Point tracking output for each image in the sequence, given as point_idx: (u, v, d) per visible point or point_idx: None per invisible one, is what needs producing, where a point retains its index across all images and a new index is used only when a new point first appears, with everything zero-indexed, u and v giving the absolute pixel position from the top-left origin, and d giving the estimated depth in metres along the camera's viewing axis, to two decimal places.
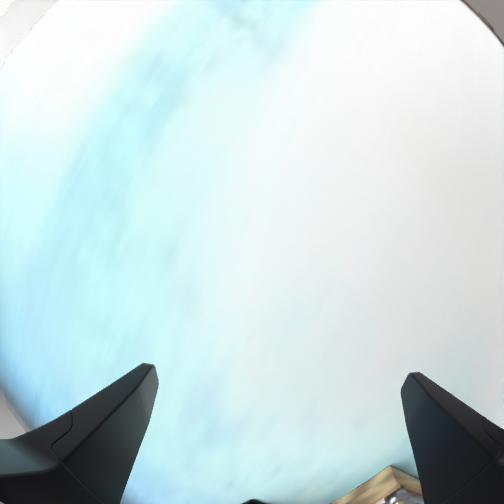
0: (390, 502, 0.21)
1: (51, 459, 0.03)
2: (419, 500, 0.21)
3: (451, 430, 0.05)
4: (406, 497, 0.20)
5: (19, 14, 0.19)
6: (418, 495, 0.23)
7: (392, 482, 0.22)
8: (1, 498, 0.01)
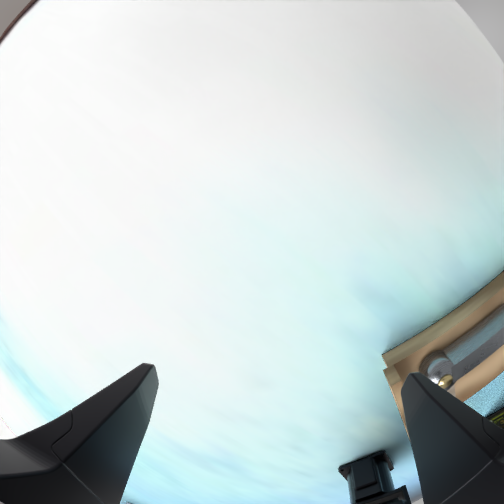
0: None
1: (51, 459, 0.03)
2: (488, 332, 0.17)
3: (451, 430, 0.05)
4: (441, 370, 0.17)
5: None
6: (486, 321, 0.18)
7: (389, 383, 0.19)
8: (1, 498, 0.01)
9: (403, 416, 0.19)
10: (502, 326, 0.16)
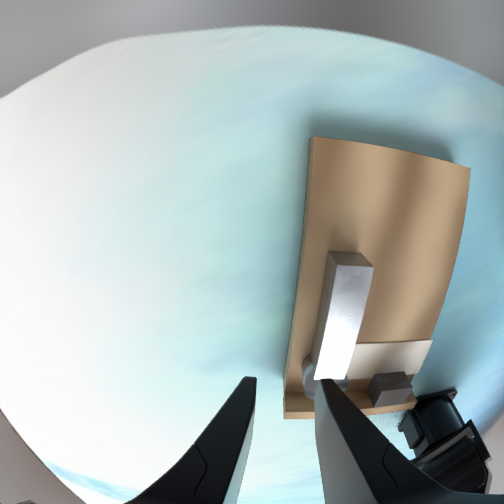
0: None
1: None
2: (324, 316, 0.16)
3: (344, 452, 0.05)
4: (306, 388, 0.18)
5: None
6: (323, 295, 0.18)
7: None
8: None
9: None
10: (330, 301, 0.15)
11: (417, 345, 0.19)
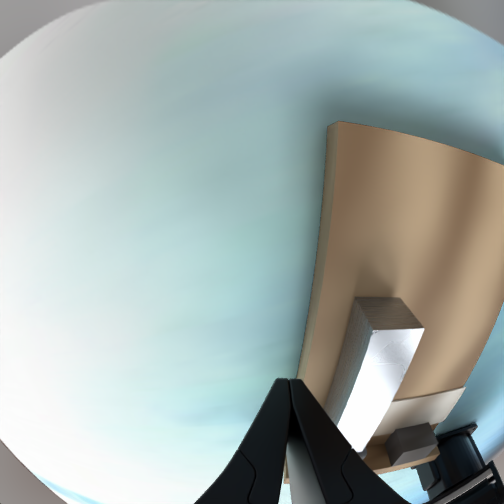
0: None
1: None
2: (345, 389, 0.10)
3: (304, 455, 0.05)
4: None
5: None
6: (343, 356, 0.12)
7: None
8: None
9: None
10: (356, 376, 0.09)
11: (448, 394, 0.13)
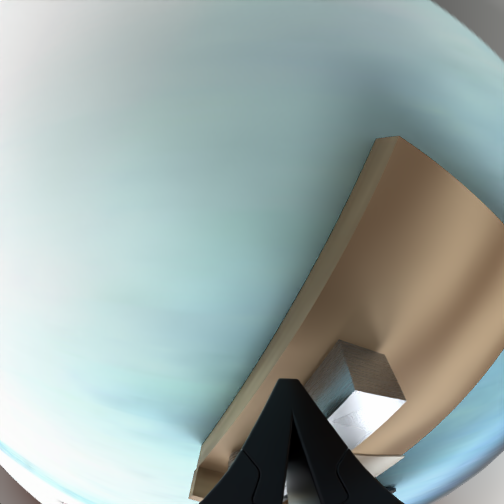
0: None
1: None
2: None
3: (299, 455, 0.05)
4: None
5: None
6: None
7: None
8: None
9: None
10: None
11: (384, 459, 0.13)
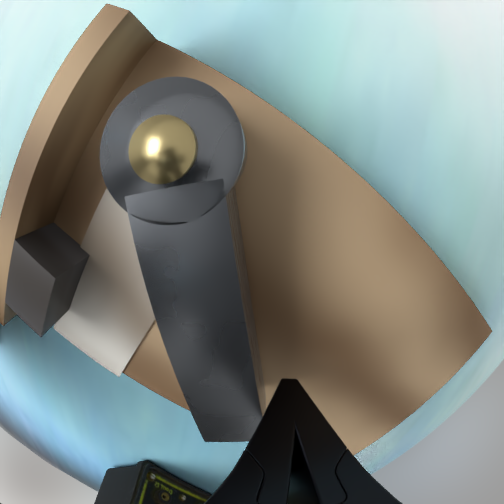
0: None
1: None
2: (253, 352, 0.08)
3: (298, 455, 0.05)
4: (233, 130, 0.05)
5: None
6: (256, 344, 0.09)
7: None
8: None
9: (22, 150, 0.06)
10: (260, 399, 0.07)
11: (120, 351, 0.10)
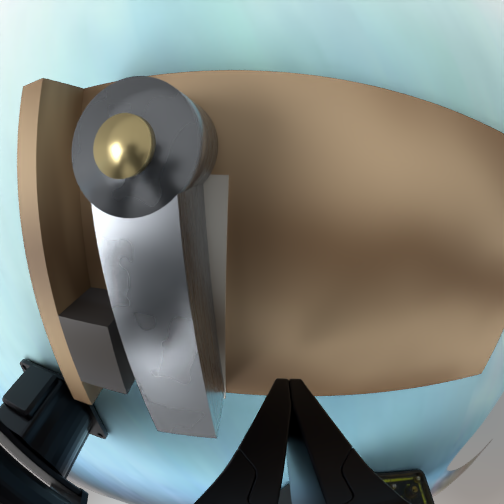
0: None
1: None
2: (205, 350, 0.08)
3: (304, 455, 0.05)
4: (189, 130, 0.05)
5: None
6: (215, 342, 0.09)
7: None
8: None
9: (24, 236, 0.07)
10: (208, 396, 0.07)
11: None
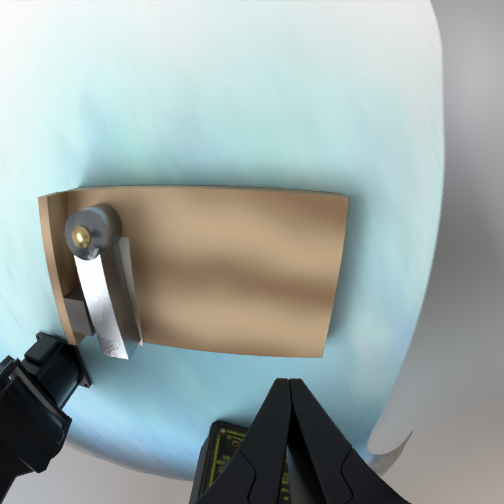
0: (75, 212, 0.15)
1: None
2: (119, 312, 0.17)
3: (304, 455, 0.05)
4: (100, 233, 0.15)
5: None
6: (130, 311, 0.19)
7: None
8: None
9: (47, 263, 0.16)
10: (121, 333, 0.17)
11: None
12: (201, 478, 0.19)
